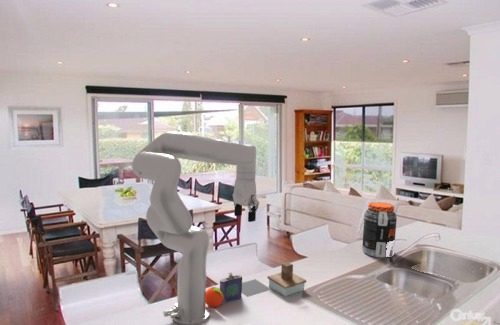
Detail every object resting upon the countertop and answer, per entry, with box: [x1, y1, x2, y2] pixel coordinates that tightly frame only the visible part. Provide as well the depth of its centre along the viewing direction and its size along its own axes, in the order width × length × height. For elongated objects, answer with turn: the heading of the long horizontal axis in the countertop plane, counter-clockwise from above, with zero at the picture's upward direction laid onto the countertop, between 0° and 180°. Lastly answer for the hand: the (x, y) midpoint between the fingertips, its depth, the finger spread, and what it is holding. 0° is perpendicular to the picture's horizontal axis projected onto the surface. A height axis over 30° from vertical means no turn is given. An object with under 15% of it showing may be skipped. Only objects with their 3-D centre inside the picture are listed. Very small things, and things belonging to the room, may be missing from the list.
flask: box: [219, 272, 243, 304], centre depth 140 cm, size 9×3×11 cm, turn 122°
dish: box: [268, 279, 306, 297], centre depth 151 cm, size 10×10×4 cm
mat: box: [242, 279, 272, 298], centre depth 151 cm, size 12×11×1 cm
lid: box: [267, 261, 307, 289], centre depth 150 cm, size 11×11×7 cm
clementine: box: [205, 286, 224, 308], centre depth 136 cm, size 8×7×7 cm
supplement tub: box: [361, 201, 398, 259], centre depth 194 cm, size 16×16×26 cm
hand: (244, 218), depth 150 cm, fingers open, 9 cm apart
